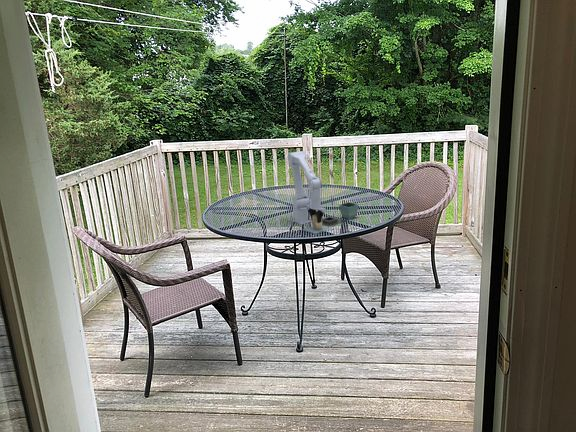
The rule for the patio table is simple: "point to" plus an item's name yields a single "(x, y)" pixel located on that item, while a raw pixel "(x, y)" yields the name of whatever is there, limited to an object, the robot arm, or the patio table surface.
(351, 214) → the flower pot
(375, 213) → the patio table surface
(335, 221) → the socket base
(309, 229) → the board
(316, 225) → the peg
